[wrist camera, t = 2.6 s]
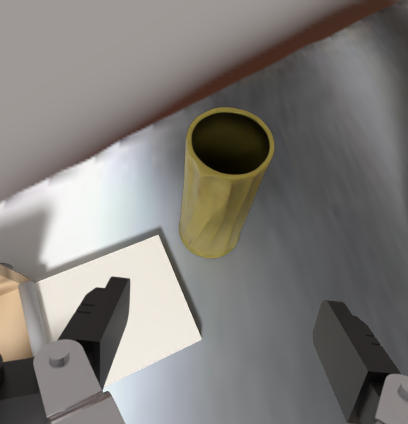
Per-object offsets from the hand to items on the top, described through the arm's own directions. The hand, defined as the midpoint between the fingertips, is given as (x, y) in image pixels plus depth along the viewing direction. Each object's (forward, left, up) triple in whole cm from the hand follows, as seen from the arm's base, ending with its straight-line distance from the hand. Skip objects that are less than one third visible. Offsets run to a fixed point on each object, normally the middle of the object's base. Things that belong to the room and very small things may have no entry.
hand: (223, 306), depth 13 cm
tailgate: (+6, -4, -16) cm, 17 cm away
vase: (-5, -8, -16) cm, 18 cm away
